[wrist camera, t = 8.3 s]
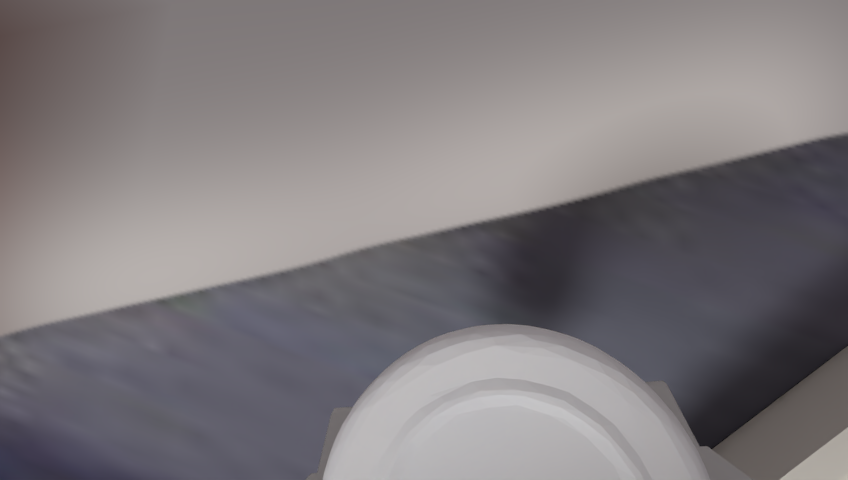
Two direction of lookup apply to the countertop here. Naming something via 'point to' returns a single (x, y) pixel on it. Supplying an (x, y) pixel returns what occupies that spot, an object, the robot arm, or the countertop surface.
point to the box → (798, 431)
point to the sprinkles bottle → (511, 415)
